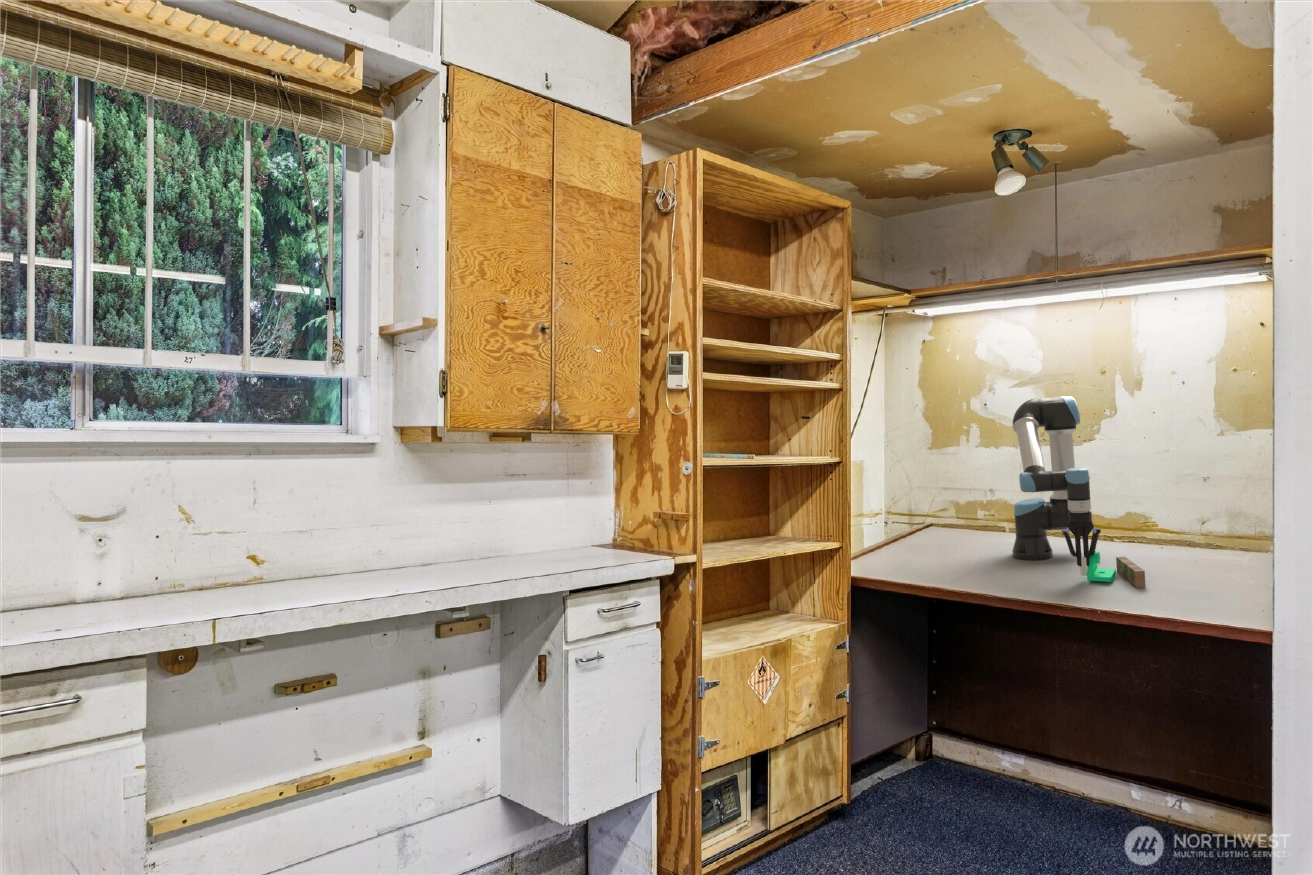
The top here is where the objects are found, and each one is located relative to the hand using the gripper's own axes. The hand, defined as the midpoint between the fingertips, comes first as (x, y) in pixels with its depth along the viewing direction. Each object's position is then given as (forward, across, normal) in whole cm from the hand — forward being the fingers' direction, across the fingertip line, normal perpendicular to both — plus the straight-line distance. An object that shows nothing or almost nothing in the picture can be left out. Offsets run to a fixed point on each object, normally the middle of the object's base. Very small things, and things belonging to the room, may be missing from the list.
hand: (1083, 574), depth 302 cm
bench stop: (+3, +15, -1) cm, 15 cm away
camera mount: (+3, +6, +2) cm, 7 cm away
